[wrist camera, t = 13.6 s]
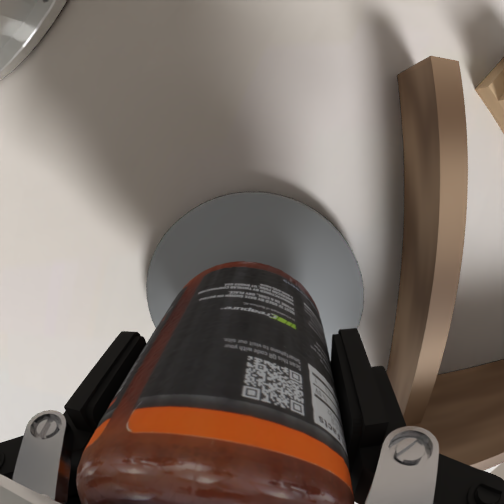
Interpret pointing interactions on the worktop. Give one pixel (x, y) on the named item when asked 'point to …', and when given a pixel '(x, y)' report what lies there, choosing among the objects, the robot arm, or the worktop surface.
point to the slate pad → (261, 253)
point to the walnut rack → (439, 274)
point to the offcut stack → (494, 93)
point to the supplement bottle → (225, 403)
